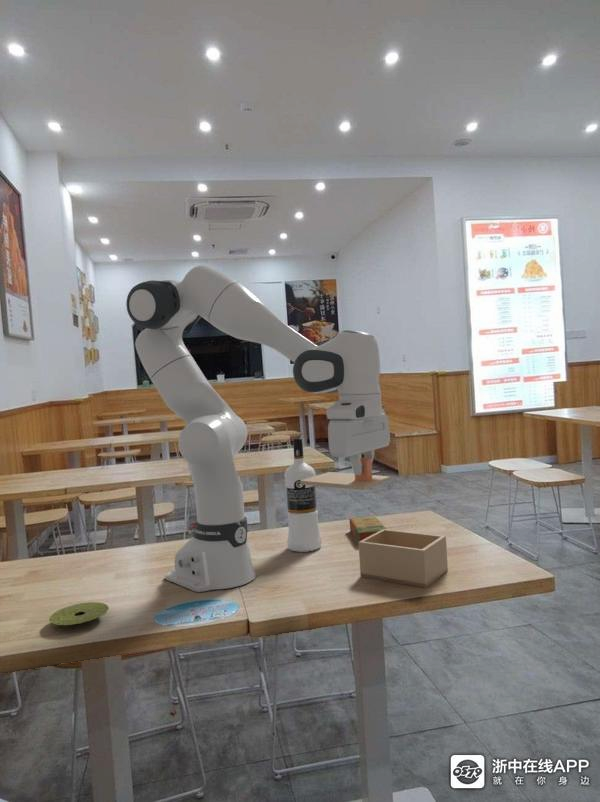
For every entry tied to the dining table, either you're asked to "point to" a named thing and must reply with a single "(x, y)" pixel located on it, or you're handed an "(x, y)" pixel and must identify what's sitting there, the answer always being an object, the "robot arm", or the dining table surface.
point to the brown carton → (403, 557)
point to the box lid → (348, 478)
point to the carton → (364, 527)
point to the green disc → (78, 613)
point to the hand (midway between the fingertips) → (362, 473)
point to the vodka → (301, 504)
